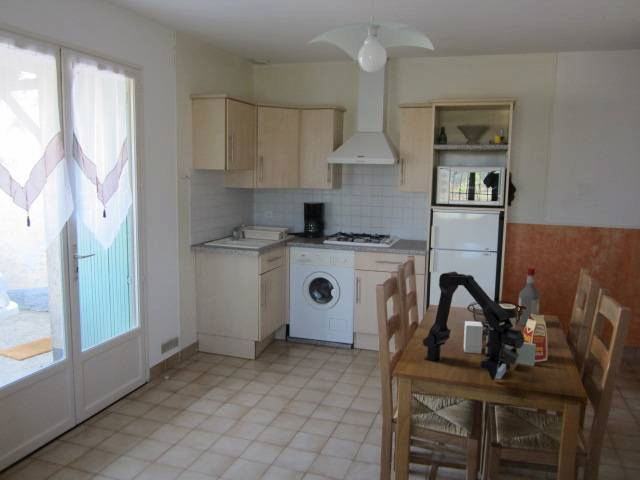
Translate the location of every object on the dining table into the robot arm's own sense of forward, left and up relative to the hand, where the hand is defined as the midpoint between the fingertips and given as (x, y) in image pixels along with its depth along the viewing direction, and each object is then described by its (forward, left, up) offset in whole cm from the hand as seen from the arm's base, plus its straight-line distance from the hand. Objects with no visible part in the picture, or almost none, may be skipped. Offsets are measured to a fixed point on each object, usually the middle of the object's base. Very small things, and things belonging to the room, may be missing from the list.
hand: (493, 379), depth 201 cm
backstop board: (+27, 0, -1) cm, 27 cm away
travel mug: (+50, +7, -1) cm, 50 cm away
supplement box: (+31, +17, -1) cm, 35 cm away
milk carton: (+37, -8, -1) cm, 38 cm away
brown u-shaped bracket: (+20, 0, -1) cm, 20 cm away
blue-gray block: (+9, 0, -1) cm, 9 cm away
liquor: (+87, +4, -1) cm, 87 cm away
